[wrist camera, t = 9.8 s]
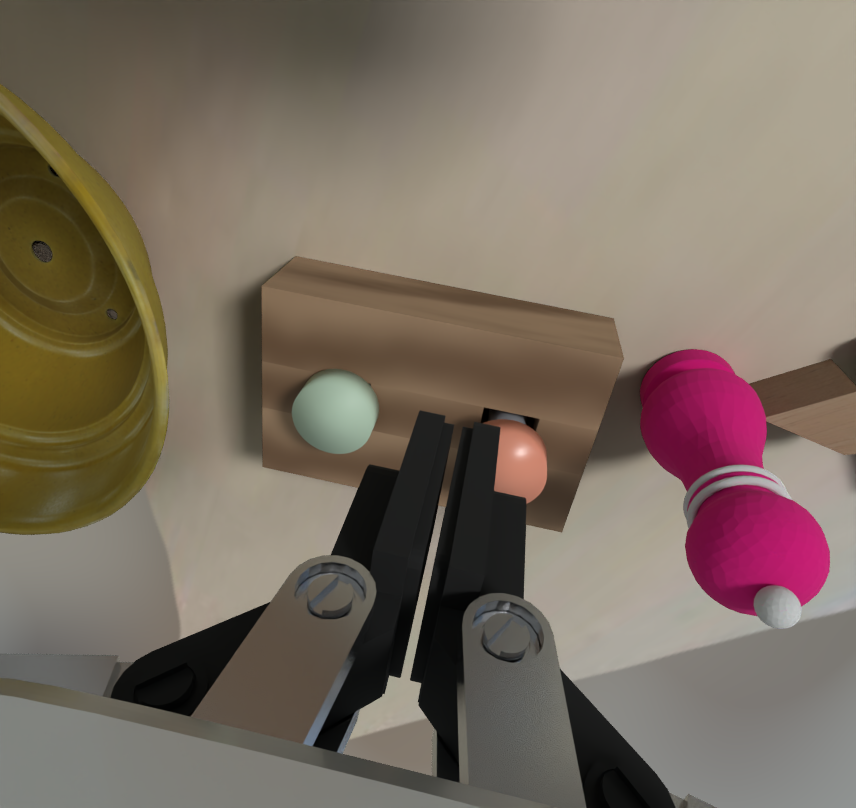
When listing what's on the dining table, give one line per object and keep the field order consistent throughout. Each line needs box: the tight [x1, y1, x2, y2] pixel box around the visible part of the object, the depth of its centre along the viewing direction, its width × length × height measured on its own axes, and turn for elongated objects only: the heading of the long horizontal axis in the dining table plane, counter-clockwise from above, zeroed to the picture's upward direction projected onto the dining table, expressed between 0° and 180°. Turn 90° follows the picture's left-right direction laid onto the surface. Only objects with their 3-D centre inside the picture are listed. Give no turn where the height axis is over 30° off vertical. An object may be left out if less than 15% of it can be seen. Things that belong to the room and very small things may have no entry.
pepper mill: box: [640, 349, 830, 629], centre depth 34 cm, size 7×7×20 cm
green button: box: [292, 369, 379, 454], centre depth 41 cm, size 5×5×8 cm
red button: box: [483, 408, 547, 504], centre depth 39 cm, size 5×5×8 cm
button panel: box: [262, 256, 624, 532], centre depth 42 cm, size 14×22×6 cm, turn 82°
